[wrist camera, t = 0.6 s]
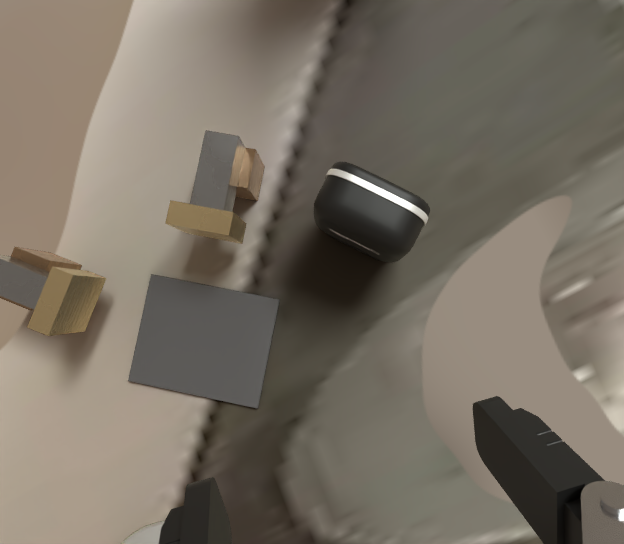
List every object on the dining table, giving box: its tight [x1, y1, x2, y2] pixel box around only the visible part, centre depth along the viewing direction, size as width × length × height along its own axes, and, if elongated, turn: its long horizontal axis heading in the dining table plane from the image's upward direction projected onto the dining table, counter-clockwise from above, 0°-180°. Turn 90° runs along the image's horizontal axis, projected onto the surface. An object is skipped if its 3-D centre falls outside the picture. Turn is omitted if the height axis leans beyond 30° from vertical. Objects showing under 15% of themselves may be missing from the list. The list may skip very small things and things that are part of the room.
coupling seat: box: [128, 274, 280, 408], centre depth 37 cm, size 9×11×1 cm
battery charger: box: [314, 162, 430, 262], centre depth 31 cm, size 7×4×11 cm, turn 63°
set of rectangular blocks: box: [0, 130, 264, 336], centre depth 34 cm, size 8×23×8 cm, turn 119°
